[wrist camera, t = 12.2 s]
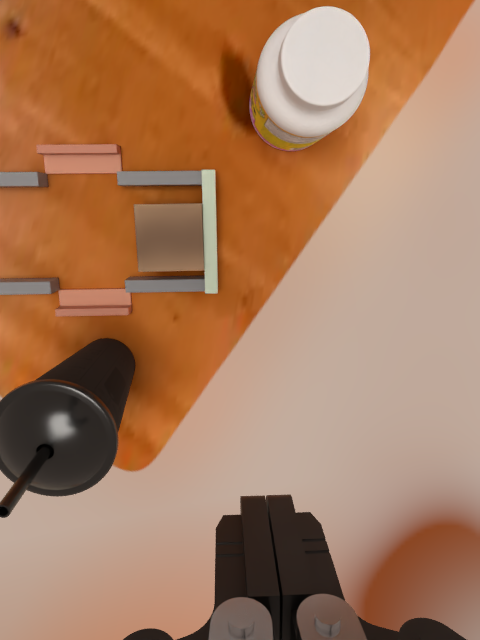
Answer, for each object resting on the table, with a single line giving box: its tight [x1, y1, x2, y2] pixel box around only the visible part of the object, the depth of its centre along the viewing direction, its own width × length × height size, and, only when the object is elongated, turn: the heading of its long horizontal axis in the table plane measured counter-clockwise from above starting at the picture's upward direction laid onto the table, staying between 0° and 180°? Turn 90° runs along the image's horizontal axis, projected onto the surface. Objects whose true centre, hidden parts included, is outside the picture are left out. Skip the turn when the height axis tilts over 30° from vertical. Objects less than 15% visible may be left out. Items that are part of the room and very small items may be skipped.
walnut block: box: [134, 203, 204, 272], centre depth 36 cm, size 5×5×4 cm
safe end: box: [202, 170, 218, 294], centre depth 36 cm, size 9×1×3 cm, turn 1°
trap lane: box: [0, 144, 205, 316], centre depth 36 cm, size 13×20×2 cm
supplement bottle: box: [249, 6, 370, 151], centre depth 29 cm, size 7×7×13 cm
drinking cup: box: [0, 338, 135, 518], centre depth 30 cm, size 8×8×20 cm
